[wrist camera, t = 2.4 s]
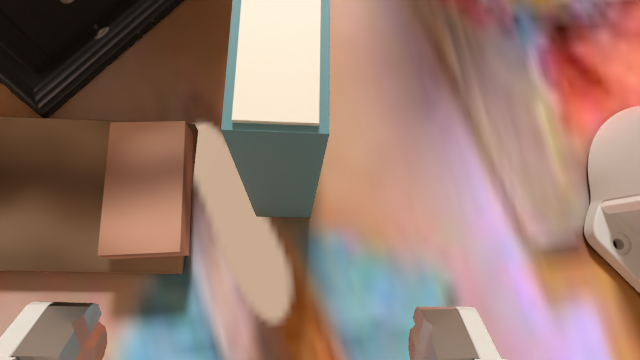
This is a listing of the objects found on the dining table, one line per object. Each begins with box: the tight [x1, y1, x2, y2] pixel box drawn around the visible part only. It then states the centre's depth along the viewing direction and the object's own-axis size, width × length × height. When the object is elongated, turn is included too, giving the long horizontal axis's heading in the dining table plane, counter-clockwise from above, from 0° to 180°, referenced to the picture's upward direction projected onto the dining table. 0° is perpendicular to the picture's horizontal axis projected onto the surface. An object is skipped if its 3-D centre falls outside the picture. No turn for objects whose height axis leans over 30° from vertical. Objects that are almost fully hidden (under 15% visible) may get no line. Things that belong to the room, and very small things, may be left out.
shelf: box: [0, 116, 198, 274], centre depth 25 cm, size 11×17×10 cm, turn 89°
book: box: [221, 0, 330, 218], centre depth 24 cm, size 11×4×16 cm, turn 179°
